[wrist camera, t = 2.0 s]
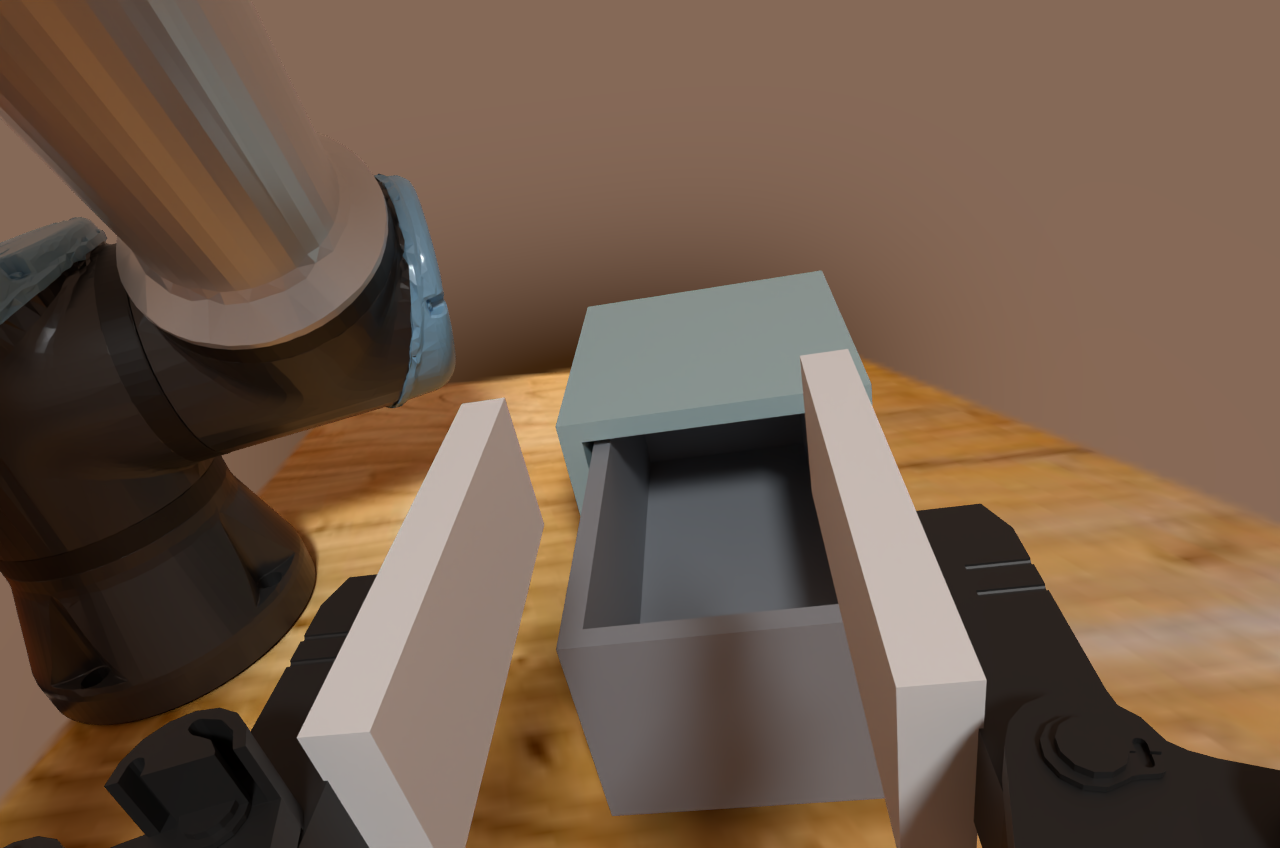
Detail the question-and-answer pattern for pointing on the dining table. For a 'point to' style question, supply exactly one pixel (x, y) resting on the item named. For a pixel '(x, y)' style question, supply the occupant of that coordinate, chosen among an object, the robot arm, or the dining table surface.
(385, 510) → the dining table surface
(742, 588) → the tray
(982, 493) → the dining table surface
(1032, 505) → the dining table surface
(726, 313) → the sleeve
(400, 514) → the dining table surface
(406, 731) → the robot arm
